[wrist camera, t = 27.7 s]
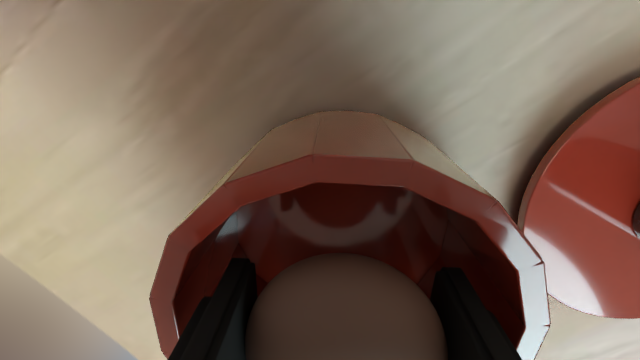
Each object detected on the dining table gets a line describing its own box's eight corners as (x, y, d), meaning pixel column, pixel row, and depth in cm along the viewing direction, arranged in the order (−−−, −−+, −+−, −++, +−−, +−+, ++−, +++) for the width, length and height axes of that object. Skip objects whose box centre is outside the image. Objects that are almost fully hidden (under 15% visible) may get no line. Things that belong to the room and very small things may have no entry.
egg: (459, 263, 10) (526, 375, 6) (388, 381, 12) (405, 522, 8) (292, 202, 10) (254, 277, 6) (248, 330, 12) (198, 447, 8)
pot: (429, 70, 12) (527, 81, 6) (475, 284, 16) (561, 422, 10) (184, 158, 14) (69, 235, 8) (279, 330, 18) (251, 469, 12)
